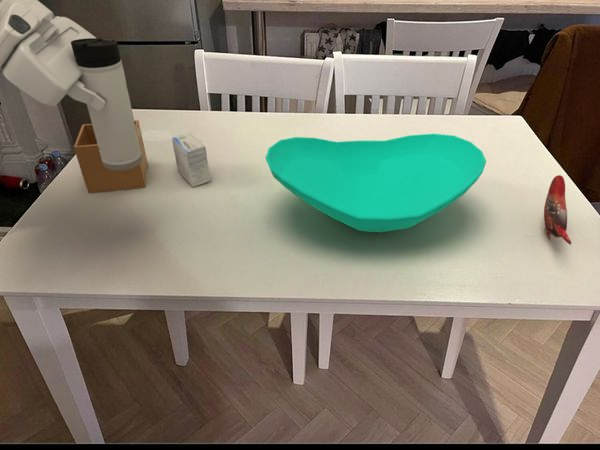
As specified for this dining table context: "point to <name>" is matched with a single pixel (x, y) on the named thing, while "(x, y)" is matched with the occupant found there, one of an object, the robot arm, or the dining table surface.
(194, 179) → the medicine box
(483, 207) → the dining table surface
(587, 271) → the dining table surface
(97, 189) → the brown open box
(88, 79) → the travel mug
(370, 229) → the table top decor
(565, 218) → the decorative bird figurine
